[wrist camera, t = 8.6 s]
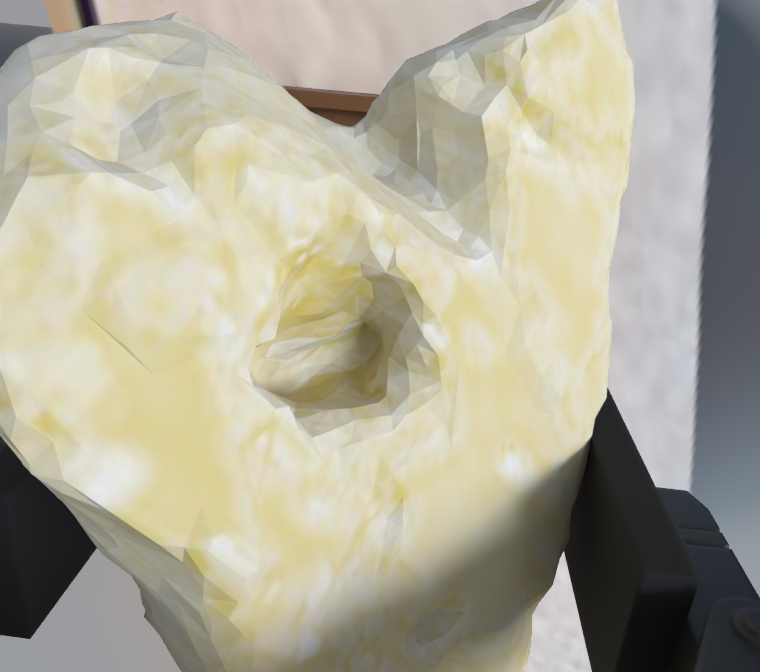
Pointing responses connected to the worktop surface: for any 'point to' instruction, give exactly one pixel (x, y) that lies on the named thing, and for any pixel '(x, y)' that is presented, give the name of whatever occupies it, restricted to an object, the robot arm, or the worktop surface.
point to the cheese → (316, 330)
